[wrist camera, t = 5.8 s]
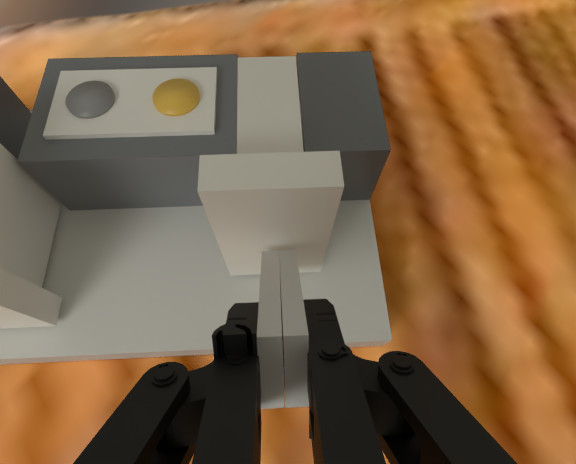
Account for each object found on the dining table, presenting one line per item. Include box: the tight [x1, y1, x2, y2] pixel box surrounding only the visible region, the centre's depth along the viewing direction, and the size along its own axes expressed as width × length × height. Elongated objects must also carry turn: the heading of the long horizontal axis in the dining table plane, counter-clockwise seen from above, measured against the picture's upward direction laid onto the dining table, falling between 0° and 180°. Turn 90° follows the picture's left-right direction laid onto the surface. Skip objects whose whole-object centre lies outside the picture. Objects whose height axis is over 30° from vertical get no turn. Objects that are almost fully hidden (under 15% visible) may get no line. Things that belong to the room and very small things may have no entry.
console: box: [0, 51, 392, 365], centre depth 21 cm, size 16×26×8 cm, turn 93°
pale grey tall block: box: [197, 56, 344, 276], centre depth 19 cm, size 8×5×9 cm, turn 3°
